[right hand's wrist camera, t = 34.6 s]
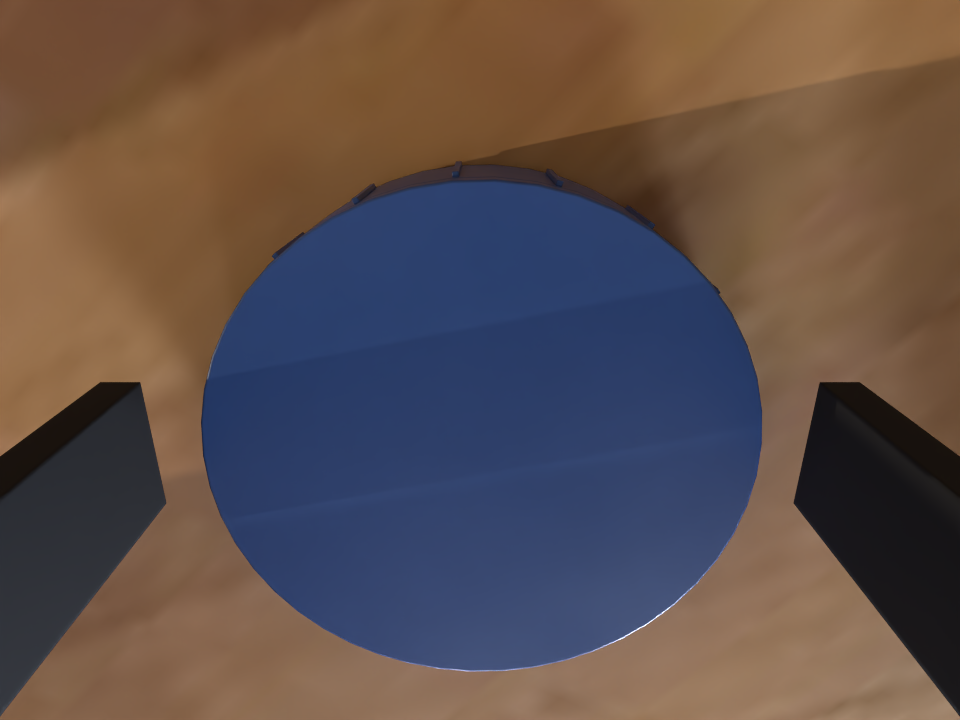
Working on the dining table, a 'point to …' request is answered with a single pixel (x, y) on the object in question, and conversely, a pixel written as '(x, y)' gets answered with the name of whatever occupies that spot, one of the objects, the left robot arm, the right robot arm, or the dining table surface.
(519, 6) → the dining table surface
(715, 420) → the lid
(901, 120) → the dining table surface
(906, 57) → the dining table surface
